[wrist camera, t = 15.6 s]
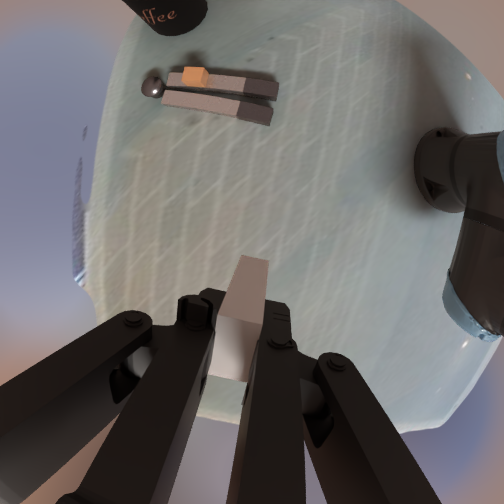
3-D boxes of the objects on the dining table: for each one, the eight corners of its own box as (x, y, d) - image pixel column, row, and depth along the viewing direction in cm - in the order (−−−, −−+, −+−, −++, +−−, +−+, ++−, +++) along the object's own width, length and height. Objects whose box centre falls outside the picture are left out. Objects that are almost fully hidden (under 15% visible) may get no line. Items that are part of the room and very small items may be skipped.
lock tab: (187, 86, 36) (181, 80, 33) (190, 72, 36) (184, 66, 33) (205, 87, 36) (200, 81, 33) (208, 73, 35) (204, 67, 33)
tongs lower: (146, 99, 39) (139, 96, 37) (152, 76, 38) (145, 71, 35) (273, 113, 39) (273, 109, 36) (279, 87, 38) (279, 81, 35)
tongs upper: (166, 106, 40) (160, 103, 37) (170, 93, 39) (164, 89, 37) (269, 126, 40) (268, 123, 37) (273, 111, 39) (273, 108, 37)
